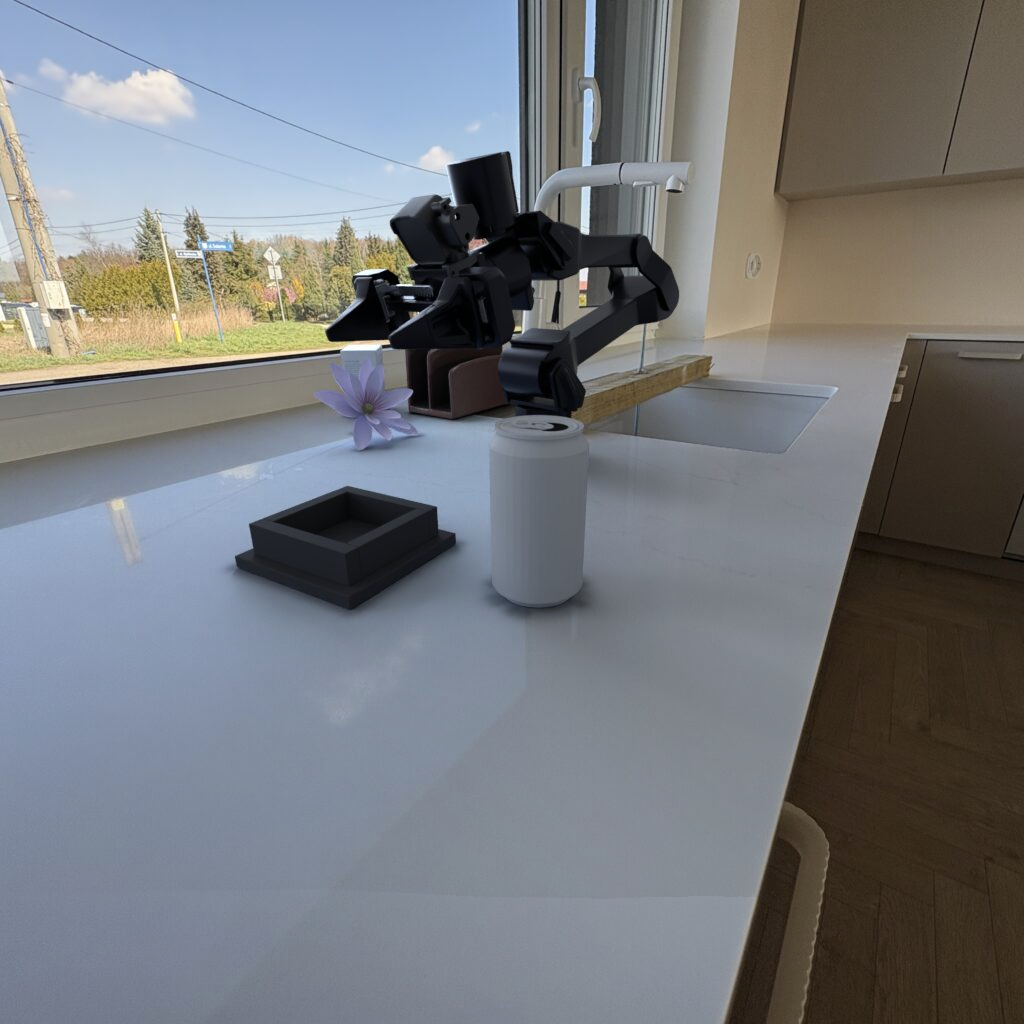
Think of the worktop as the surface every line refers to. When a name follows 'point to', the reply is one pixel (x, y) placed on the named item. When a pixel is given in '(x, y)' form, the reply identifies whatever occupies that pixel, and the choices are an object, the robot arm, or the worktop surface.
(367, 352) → the small box
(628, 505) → the worktop surface
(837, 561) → the worktop surface
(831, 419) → the worktop surface
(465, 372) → the letter holder
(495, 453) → the beverage can
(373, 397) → the water lily
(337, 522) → the socket pad
